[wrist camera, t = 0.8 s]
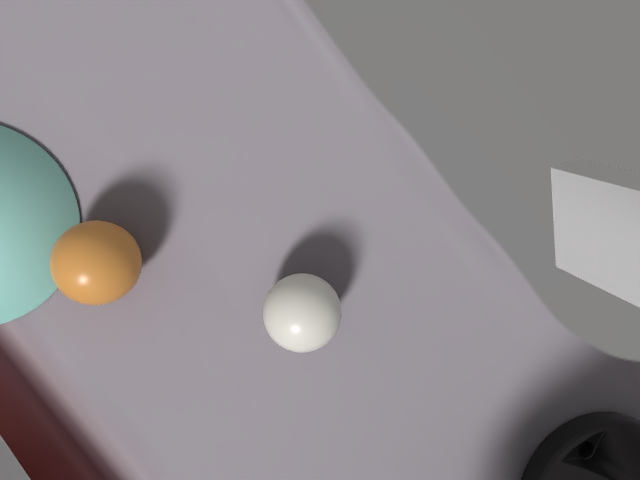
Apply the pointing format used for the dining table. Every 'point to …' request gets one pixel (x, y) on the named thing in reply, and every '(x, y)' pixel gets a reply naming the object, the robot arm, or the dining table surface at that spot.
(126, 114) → the dining table surface
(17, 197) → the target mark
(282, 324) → the cue ball
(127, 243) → the object ball
